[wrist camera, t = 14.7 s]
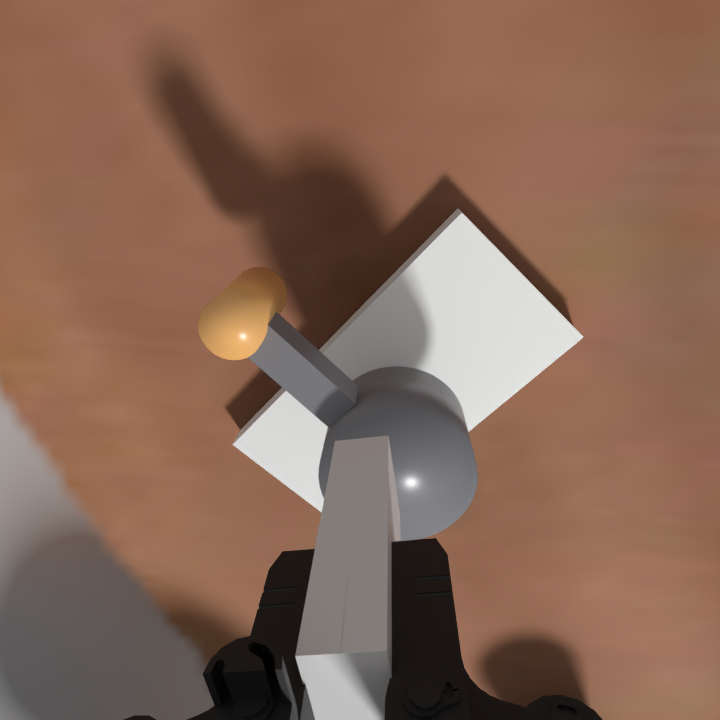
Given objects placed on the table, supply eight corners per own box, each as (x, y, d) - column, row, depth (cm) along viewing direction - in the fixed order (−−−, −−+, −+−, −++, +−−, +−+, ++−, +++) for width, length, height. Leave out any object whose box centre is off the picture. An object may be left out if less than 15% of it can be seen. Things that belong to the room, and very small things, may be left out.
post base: (348, 514, 42) (342, 572, 36) (240, 430, 39) (215, 478, 34) (573, 326, 34) (607, 363, 29) (458, 208, 32) (471, 223, 26)
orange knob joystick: (489, 419, 32) (511, 482, 26) (394, 492, 34) (395, 564, 29) (287, 222, 28) (260, 246, 22) (197, 322, 30) (151, 366, 25)
